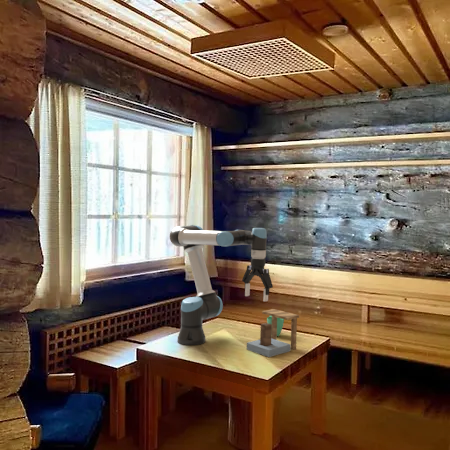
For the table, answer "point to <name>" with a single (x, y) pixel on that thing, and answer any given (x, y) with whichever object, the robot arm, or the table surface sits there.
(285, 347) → the socket block
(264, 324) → the peg
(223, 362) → the table surface
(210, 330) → the table surface
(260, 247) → the robot arm
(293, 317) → the wooden arch frame
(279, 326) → the green tapered vase
